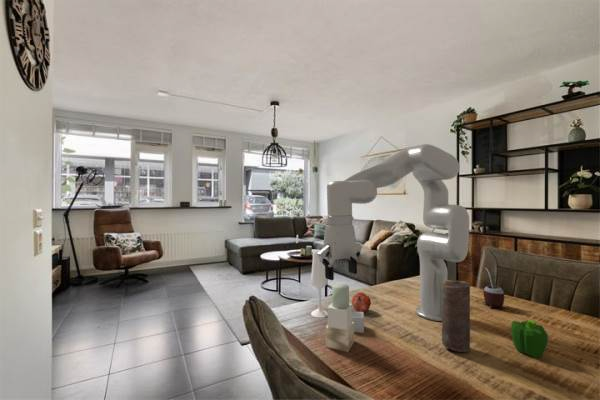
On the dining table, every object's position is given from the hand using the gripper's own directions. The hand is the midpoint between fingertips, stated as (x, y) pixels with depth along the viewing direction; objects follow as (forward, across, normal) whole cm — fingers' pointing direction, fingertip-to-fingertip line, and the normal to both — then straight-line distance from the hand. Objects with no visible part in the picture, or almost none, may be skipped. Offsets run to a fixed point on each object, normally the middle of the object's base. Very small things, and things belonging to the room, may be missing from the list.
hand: (341, 276), depth 86 cm
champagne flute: (+21, -7, -21) cm, 31 cm away
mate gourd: (+23, -70, +14) cm, 75 cm away
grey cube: (+21, -10, -4) cm, 24 cm away
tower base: (+21, +1, 0) cm, 21 cm away
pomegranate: (+22, -23, -14) cm, 35 cm away
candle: (+22, -25, +22) cm, 40 cm away
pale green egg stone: (+9, +1, 0) cm, 9 cm away
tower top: (+15, +1, 0) cm, 15 cm away
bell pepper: (+22, -41, +34) cm, 58 cm away
